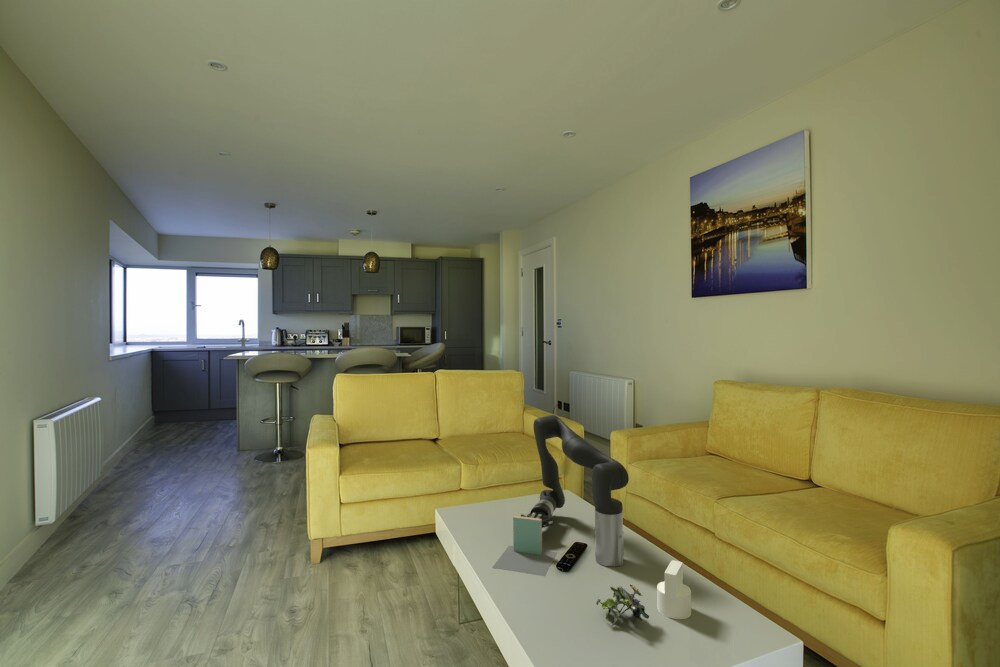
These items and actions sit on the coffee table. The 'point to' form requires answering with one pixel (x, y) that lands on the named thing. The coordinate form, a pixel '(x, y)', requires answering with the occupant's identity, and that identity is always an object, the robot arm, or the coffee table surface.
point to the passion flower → (627, 600)
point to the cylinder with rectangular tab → (674, 593)
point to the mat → (525, 561)
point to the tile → (527, 535)
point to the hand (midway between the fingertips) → (530, 528)
